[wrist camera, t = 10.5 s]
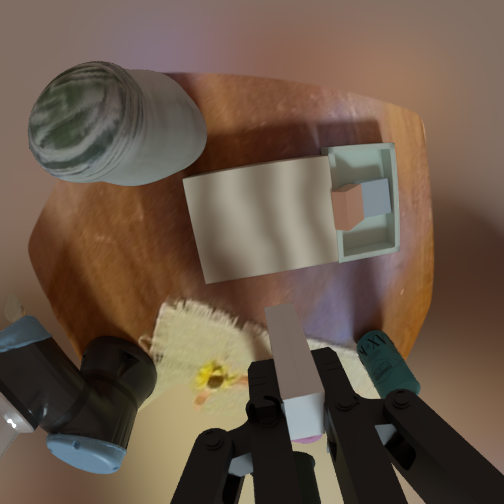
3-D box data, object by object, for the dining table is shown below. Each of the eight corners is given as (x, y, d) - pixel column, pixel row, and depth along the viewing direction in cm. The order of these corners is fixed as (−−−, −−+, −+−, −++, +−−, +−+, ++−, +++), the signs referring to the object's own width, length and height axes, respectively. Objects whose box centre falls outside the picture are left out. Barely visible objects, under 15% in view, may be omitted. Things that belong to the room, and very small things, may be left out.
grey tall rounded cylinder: (191, 88, 35) (113, -9, 9) (222, 151, 39) (190, 153, 12) (129, 122, 36) (-17, 101, 10) (159, 184, 40) (39, 248, 13)
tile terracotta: (335, 229, 38) (349, 231, 36) (331, 192, 36) (345, 192, 34) (351, 218, 41) (364, 219, 39) (348, 183, 39) (361, 183, 37)
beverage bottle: (390, 328, 50) (442, 400, 31) (372, 355, 52) (415, 431, 33) (363, 320, 49) (414, 399, 30) (345, 350, 51) (385, 432, 32)
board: (209, 269, 44) (205, 284, 39) (189, 175, 39) (182, 179, 35) (328, 249, 44) (338, 260, 39) (317, 155, 39) (328, 155, 34)
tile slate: (391, 212, 39) (385, 209, 41) (387, 178, 38) (381, 177, 40) (361, 218, 40) (355, 215, 42) (356, 184, 38) (351, 182, 40)
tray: (331, 254, 44) (338, 263, 41) (320, 147, 39) (327, 147, 36) (389, 244, 44) (399, 251, 41) (382, 142, 39) (393, 142, 35)
